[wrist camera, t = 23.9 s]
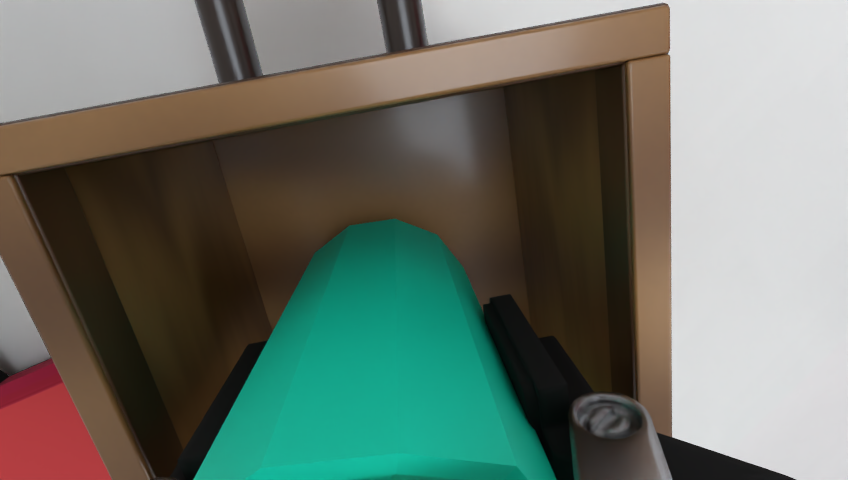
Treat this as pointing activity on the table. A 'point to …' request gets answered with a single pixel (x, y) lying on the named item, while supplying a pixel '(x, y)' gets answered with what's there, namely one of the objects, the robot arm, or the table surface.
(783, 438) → the table surface
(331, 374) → the candle
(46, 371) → the red board with handle
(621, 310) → the wooden drawer
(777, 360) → the table surface
